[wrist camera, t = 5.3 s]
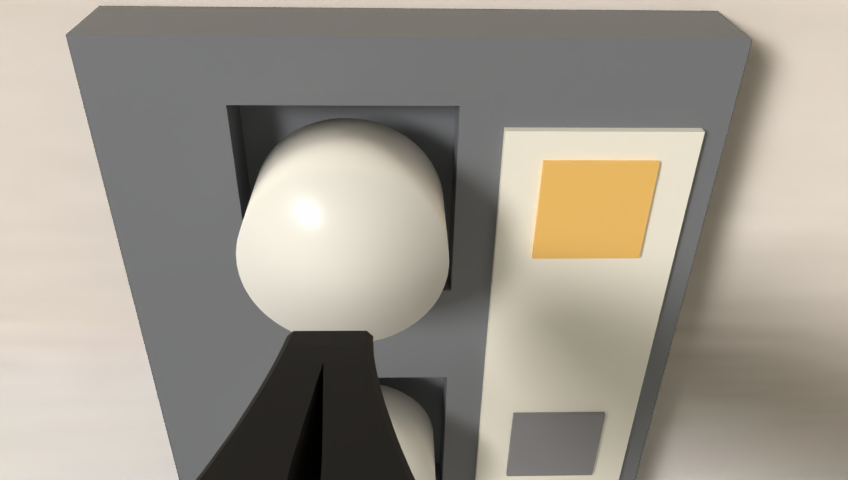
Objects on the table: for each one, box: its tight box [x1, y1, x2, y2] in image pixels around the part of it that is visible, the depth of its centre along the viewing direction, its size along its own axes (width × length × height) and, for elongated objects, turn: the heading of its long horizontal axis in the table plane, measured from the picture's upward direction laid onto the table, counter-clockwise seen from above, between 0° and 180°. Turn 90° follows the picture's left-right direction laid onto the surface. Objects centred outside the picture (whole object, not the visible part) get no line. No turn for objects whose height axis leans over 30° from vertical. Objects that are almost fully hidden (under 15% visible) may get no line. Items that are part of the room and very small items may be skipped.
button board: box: [66, 6, 752, 480], centre depth 22 cm, size 24×14×2 cm, turn 179°
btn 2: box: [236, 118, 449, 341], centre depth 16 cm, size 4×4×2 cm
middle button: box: [380, 385, 436, 480], centre depth 21 cm, size 4×4×2 cm
